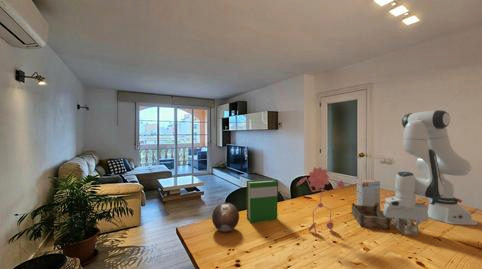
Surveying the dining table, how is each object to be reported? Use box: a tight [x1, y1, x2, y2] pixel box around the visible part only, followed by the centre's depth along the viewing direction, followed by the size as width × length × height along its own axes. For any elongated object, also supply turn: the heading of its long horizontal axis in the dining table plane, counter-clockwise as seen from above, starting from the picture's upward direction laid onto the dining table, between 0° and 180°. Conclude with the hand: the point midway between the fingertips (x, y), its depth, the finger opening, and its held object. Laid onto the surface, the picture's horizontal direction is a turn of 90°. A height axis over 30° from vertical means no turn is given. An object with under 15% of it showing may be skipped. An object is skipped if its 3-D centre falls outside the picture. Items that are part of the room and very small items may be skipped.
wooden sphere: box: [211, 202, 240, 232], centre depth 116 cm, size 15×15×15 cm
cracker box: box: [356, 179, 381, 210], centre depth 144 cm, size 14×6×21 cm, turn 100°
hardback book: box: [246, 178, 278, 224], centre depth 131 cm, size 18×7×24 cm, turn 105°
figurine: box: [295, 166, 346, 236], centre depth 117 cm, size 15×26×35 cm, turn 96°
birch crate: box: [394, 218, 419, 237], centre depth 115 cm, size 6×12×5 cm, turn 165°
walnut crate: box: [351, 202, 391, 231], centre depth 127 cm, size 15×21×7 cm
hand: (405, 226), depth 115 cm, fingers open, 8 cm apart
